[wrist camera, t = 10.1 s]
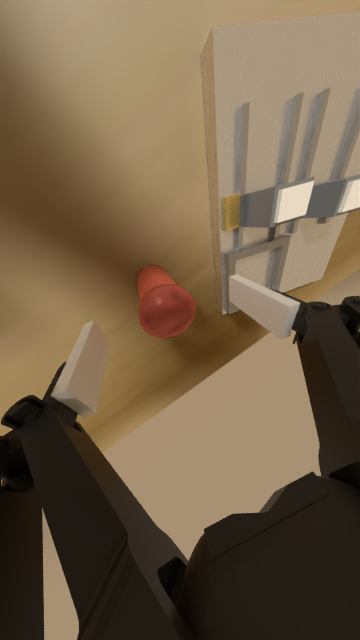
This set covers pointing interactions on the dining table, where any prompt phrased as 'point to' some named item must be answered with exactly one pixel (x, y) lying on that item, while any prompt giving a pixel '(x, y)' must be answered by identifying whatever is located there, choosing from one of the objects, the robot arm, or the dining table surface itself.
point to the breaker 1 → (278, 204)
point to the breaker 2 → (334, 197)
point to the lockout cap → (163, 303)
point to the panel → (278, 139)
